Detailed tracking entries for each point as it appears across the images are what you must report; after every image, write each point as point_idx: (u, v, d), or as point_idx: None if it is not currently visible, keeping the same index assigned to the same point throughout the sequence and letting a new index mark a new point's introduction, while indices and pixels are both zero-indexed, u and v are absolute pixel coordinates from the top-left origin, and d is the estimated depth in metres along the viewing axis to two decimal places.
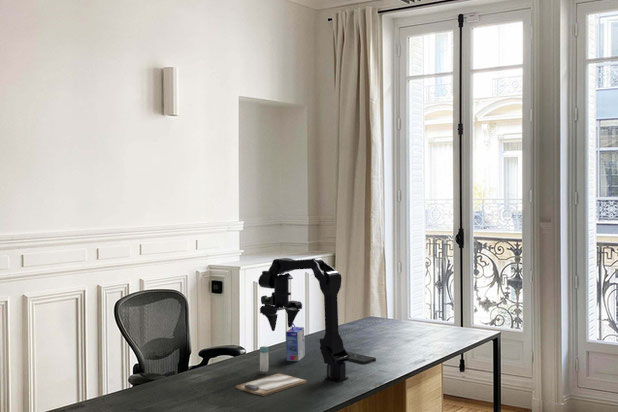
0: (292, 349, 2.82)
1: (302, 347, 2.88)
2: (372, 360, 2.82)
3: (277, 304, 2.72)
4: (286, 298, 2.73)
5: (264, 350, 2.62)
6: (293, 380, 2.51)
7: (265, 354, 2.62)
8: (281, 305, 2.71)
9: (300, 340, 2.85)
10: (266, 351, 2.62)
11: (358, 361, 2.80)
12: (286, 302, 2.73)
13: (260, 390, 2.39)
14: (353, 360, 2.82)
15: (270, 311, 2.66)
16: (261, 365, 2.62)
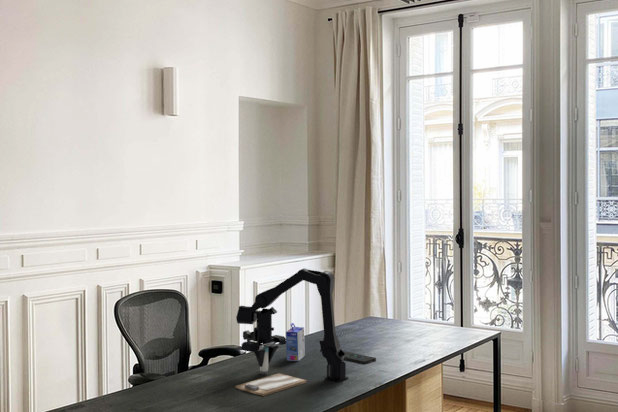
0: (292, 349, 2.82)
1: (302, 347, 2.88)
2: (372, 360, 2.82)
3: (259, 340, 2.61)
4: (269, 334, 2.61)
5: None
6: (293, 380, 2.51)
7: (265, 354, 2.62)
8: (264, 341, 2.60)
9: (300, 340, 2.85)
10: (266, 351, 2.62)
11: (358, 361, 2.80)
12: (269, 338, 2.61)
13: (260, 390, 2.39)
14: (353, 360, 2.82)
15: (252, 348, 2.55)
16: None
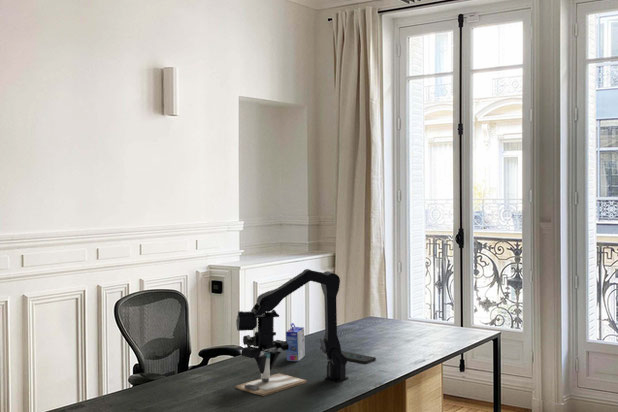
0: (292, 349, 2.82)
1: (302, 347, 2.88)
2: (372, 360, 2.82)
3: (261, 345, 2.47)
4: (271, 339, 2.47)
5: None
6: (293, 380, 2.51)
7: (266, 360, 2.48)
8: (265, 347, 2.46)
9: (300, 340, 2.85)
10: (267, 357, 2.48)
11: (359, 361, 2.80)
12: (271, 343, 2.47)
13: (260, 390, 2.39)
14: (353, 360, 2.82)
15: (252, 354, 2.40)
16: None
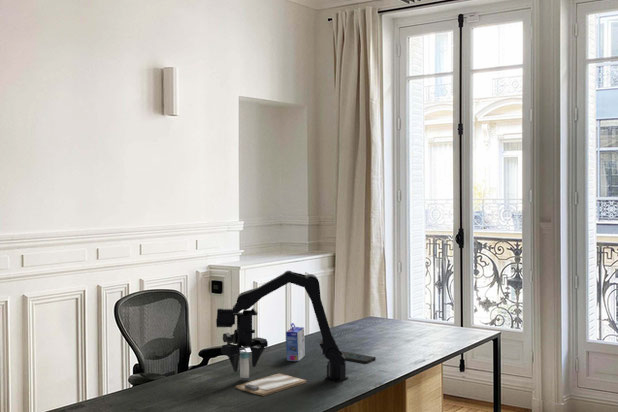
0: (292, 349, 2.82)
1: (302, 347, 2.88)
2: (372, 359, 2.83)
3: (240, 343, 2.52)
4: (249, 336, 2.52)
5: (245, 356, 2.53)
6: (293, 380, 2.51)
7: (245, 360, 2.53)
8: (244, 344, 2.51)
9: (300, 340, 2.85)
10: (246, 357, 2.53)
11: (359, 361, 2.80)
12: (249, 340, 2.52)
13: (260, 390, 2.39)
14: (354, 360, 2.82)
15: (231, 351, 2.46)
16: (241, 371, 2.54)
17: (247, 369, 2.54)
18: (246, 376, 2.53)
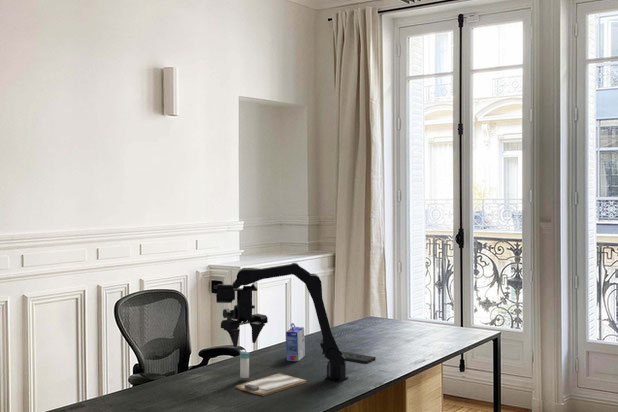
0: (292, 349, 2.82)
1: (302, 347, 2.88)
2: (372, 359, 2.83)
3: (240, 318, 2.52)
4: (249, 312, 2.52)
5: (245, 356, 2.53)
6: (293, 380, 2.51)
7: (245, 360, 2.53)
8: (244, 319, 2.51)
9: (300, 340, 2.85)
10: (246, 357, 2.53)
11: (359, 361, 2.80)
12: (249, 316, 2.52)
13: (260, 390, 2.39)
14: (354, 360, 2.82)
15: (231, 326, 2.46)
16: (241, 371, 2.54)
17: (247, 369, 2.54)
18: (246, 376, 2.53)
